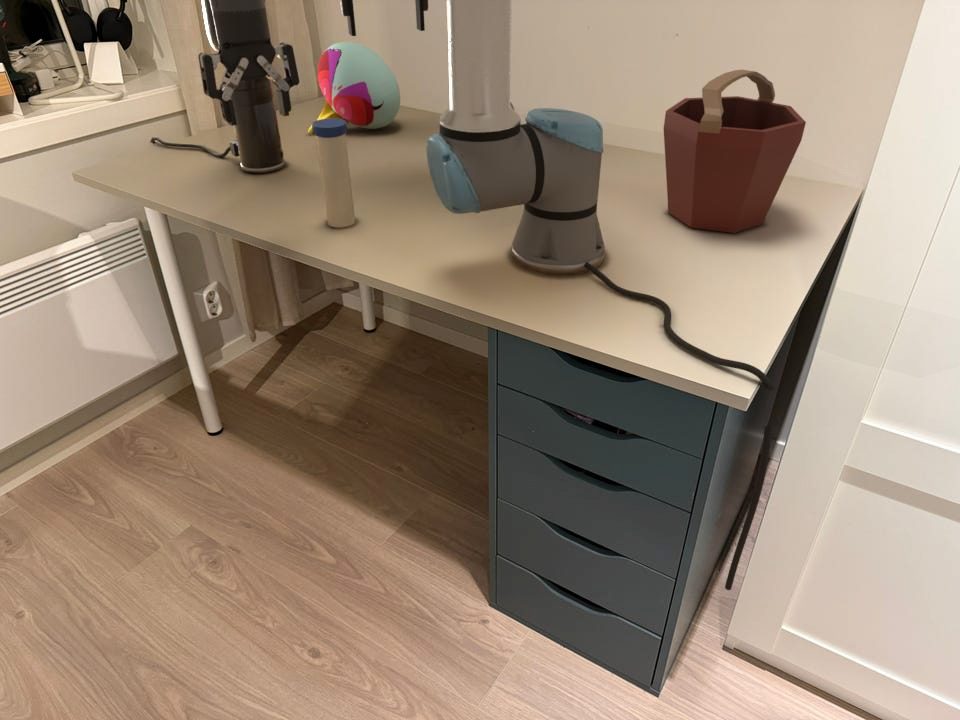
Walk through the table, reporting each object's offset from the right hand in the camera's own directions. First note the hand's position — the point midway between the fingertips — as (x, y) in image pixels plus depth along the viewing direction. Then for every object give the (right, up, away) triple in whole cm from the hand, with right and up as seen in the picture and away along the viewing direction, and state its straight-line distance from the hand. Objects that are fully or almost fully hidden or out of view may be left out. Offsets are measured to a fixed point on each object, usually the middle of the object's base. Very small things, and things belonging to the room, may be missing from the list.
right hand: (387, 32), depth 136 cm
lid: (-8, -23, -16) cm, 29 cm away
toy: (-14, -4, +44) cm, 47 cm away
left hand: (-17, -26, -25) cm, 40 cm away
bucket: (+61, -36, -4) cm, 71 cm away
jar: (-8, -38, -6) cm, 39 cm away
